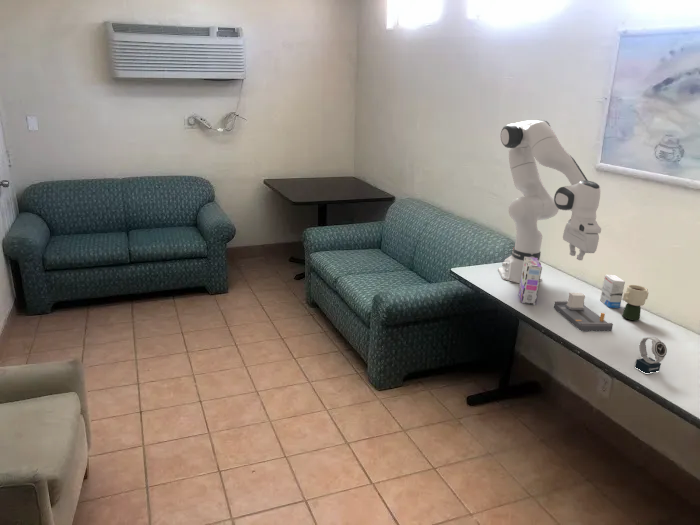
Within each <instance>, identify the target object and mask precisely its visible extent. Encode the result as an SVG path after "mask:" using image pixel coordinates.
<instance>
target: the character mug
mask: <svg viewBox="0 0 700 525" xmlns="http://www.w3.org/2000/svg"><path fill="white" fill-rule="evenodd" d="M648 297H649V291H648V288H646V287H645V286H642V285H637V284H628V285H627V287H626V290H625V292H623V295H622V300H623V301H624V302H625V303H626V304H625V306H624V309H623V312H622V317H624V318H625V319H626V320H631V321H634V322H635V321H636V322H637V321H640V319H641V318H640V317H641V308H642V306H644V305H645V304H646V300H648Z"/></svg>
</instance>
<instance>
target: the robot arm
mask: <svg viewBox="0 0 700 525" xmlns="http://www.w3.org/2000/svg"><path fill="white" fill-rule="evenodd" d="M500 131H501V132H500V141H501V143H502V145H503V146H504V147H505V148H507V149H509V150H508V162H509V168H510V172H511V176H512V180H513V183H514V184H513V185H514V188H515V189H517V190H519V191H520V192H521V193H522V194H523V196H519V197H517V198H513V199H512V201H510V203H509V204H508V214H509V216H510V218H511V219H512V220H513V222H514V223H515V224H514V225H515V229H516V234H515V244H514V247H513V249H512V252H511V255H510V256H508V257H507V258H505V259H504V261H503V262H502V266H500V267H498V268H497V271H498V273H499V275H500V277H501V279H503V280H506V281H511V282H513V283H517V284H520V281H521V275H522V268H523V261H524V257H533V258H538V260H539V262H540V264H541V265H542V262H541V261H540V260H541V247H542V240H543V234H542V232H541V231H539V230H538V224H537V223H538V221H543V220H545V221H546V220H549V219H551V218H553V217H555V216H556V215H557V214H558V213H559V211H560V210H562V211H571V217H570V218H569V220H568V221H567V223H566V224H565V227H564V231H563V233H562V240H563V241H565V242H566V243H568V244H569V245H568V246H569V255H570V256H571V257H574V256H575V257H576V260H578V261H583V259H584V256H585V255H586V254H595V253H596V251H597V249H598V246H599V241H600V236H599V234H601V232H602V227H601V226H600V225H599V223H598V222H597V221H596V219H597V210H598V208H599V206H600V199H601V187H600V185H599V184H598V183H597V182H594V181H592V180H588V178H587V177H586V175H585V173H584V172H583V171H582V169H581V168H580V166H579V165H578V163H577V161H576V160H575V159H574V157H572V155H570V154H569V153H568V152H567V150H565V148H564V147H563V146H562V144H561V142H560V141H559V139H558V137H557V135H556V134H555V131H554V130H553V128H552V126H551V125H550V123H549V122H548V121H547V120H545V119H536V120H533V119H530V120H523V121H519V122H515V123H514V122H513V123H509V124H506V125H504V126H503V127H502V129H501V130H500ZM536 161H537V162H536ZM537 163H539V165H540V166H543V167H545V168H550V169H552V170H557V171H558V172H560V173H562V174H563V175H564V176H565V177H566V178H567V180H568V182H569V184H570V185H565V186H561V187H559V188H558V189H557V190H556V191H555V193H554V196H553V195H551V193H550V192H549V191H548V190H547V189H546V186H545V185H544V184H543V182H542V180H541V179H542V178H541V176H540V173H539V169H538V166H537ZM576 248H577V249H579V253H578V254H577V251H576ZM541 281H543V277H542V276H540V282H541Z"/></svg>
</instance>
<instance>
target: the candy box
mask: <svg viewBox="0 0 700 525" xmlns="http://www.w3.org/2000/svg"><path fill="white" fill-rule="evenodd" d="M539 261H540V259H539V260H538V258H533V257H524V261H523V268H522V275H521V281H520V283H519V287H518V288H519V289H518V295H519V298H520V302H521V303H522V304H526V305H527V304H528V305H535V306H536V304H537V298H538V291H539V286H540V282H541V281H540V277H542V276H541V275H542V270H543V267H542V263H541V261H540V262H539ZM540 263H541V264H540Z"/></svg>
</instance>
